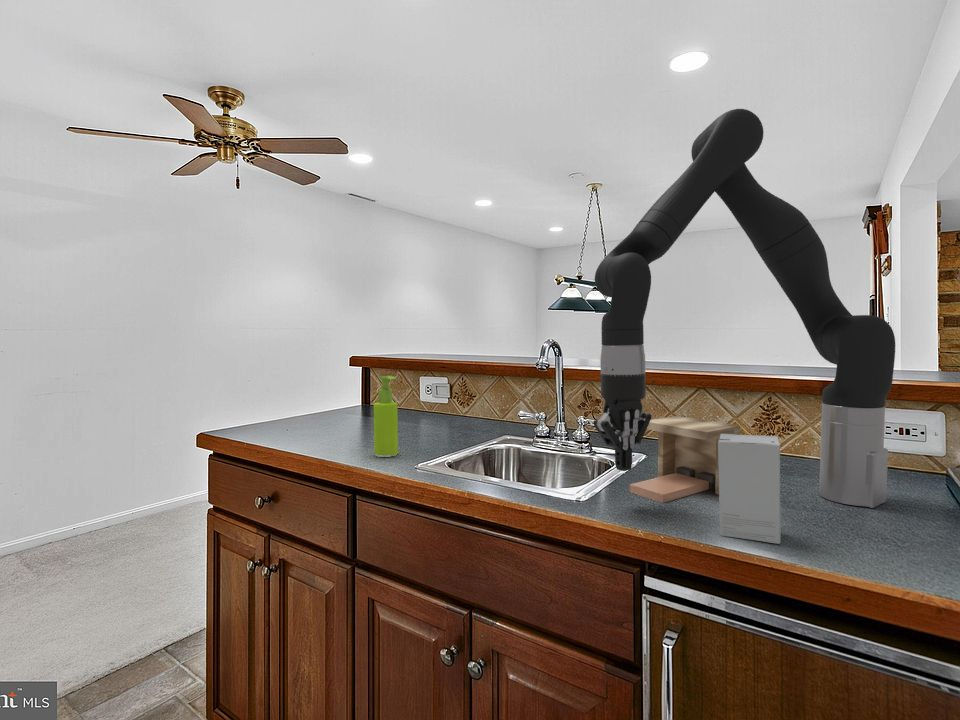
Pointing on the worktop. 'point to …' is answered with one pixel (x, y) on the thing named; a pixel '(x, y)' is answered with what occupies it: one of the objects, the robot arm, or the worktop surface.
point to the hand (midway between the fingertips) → (623, 469)
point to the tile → (669, 487)
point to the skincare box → (749, 487)
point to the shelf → (690, 447)
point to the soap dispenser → (385, 420)
